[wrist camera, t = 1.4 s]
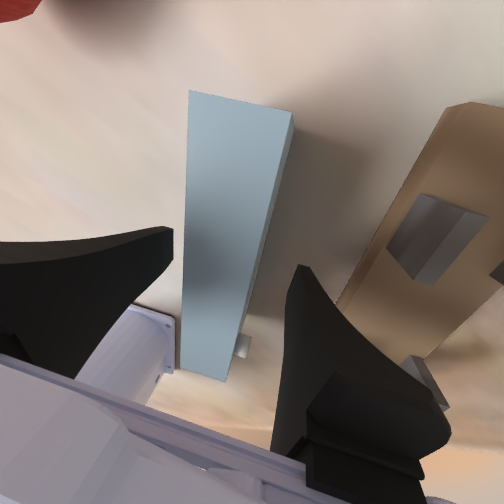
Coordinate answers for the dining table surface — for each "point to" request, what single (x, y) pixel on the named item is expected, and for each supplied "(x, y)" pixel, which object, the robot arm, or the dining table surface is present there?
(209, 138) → the pale blue rectangular block
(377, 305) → the rail
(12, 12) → the onion
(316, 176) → the dining table surface
